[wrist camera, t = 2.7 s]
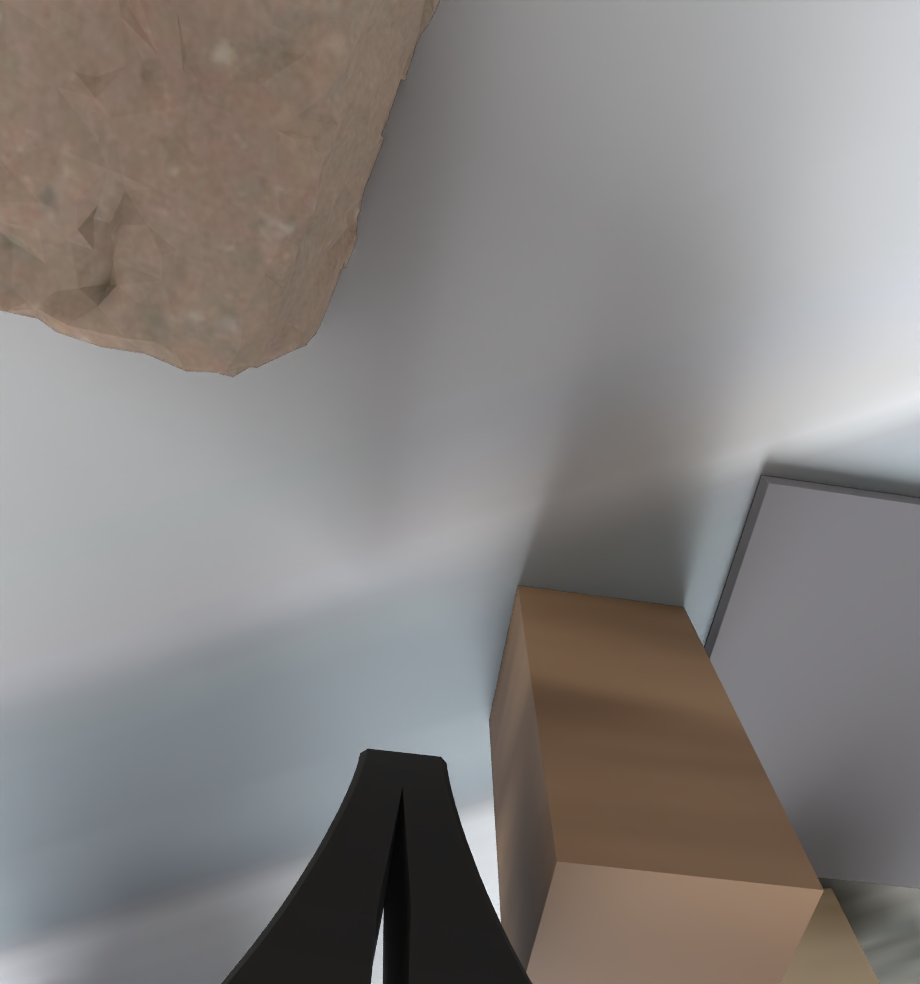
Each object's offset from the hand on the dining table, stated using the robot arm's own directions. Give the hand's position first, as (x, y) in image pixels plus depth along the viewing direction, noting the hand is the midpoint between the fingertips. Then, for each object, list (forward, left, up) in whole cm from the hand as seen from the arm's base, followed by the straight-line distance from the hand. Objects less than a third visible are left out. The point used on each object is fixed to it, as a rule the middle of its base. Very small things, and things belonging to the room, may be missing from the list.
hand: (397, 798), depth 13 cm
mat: (0, -11, -4) cm, 12 cm away
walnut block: (0, -4, -4) cm, 6 cm away
